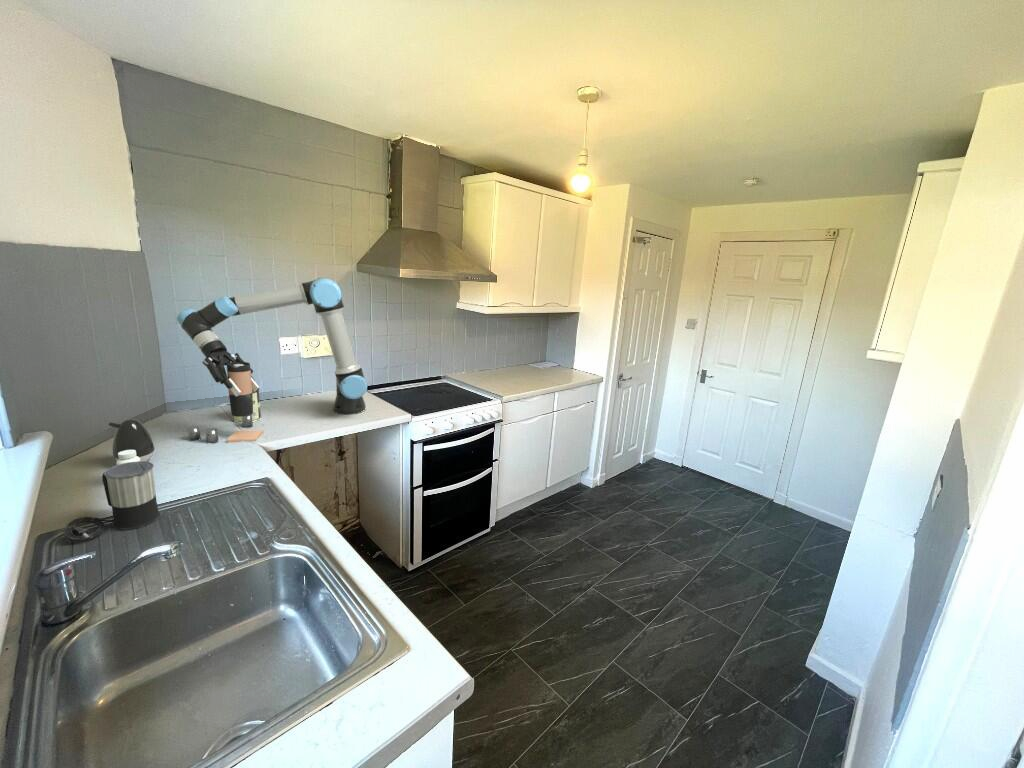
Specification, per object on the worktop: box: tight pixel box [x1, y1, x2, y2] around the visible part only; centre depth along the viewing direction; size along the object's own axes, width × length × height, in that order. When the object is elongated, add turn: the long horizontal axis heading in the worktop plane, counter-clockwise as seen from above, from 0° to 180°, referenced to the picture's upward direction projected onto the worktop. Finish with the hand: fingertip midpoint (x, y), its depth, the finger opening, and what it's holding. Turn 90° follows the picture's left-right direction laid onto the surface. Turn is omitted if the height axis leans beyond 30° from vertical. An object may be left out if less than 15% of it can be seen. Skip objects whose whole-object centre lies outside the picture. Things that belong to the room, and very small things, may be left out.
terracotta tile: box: [225, 429, 265, 443], centre depth 164 cm, size 10×10×1 cm
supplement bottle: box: [115, 450, 141, 466], centre depth 124 cm, size 5×5×10 cm
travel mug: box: [226, 361, 253, 417], centre depth 159 cm, size 8×8×20 cm
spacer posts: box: [187, 414, 254, 444], centre depth 164 cm, size 17×20×5 cm
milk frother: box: [63, 461, 161, 543], centre depth 102 cm, size 14×16×15 cm
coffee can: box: [233, 387, 262, 424], centre depth 181 cm, size 10×10×14 cm
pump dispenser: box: [108, 418, 155, 462], centre depth 135 cm, size 10×10×15 cm
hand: (247, 391), depth 158 cm, fingers closed on travel mug, 7 cm apart
